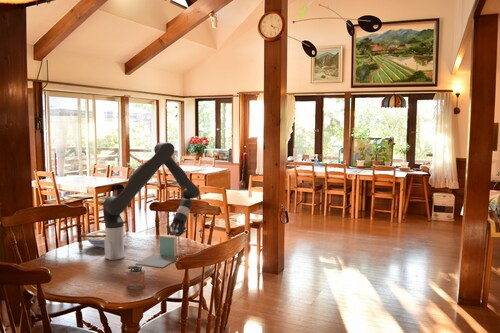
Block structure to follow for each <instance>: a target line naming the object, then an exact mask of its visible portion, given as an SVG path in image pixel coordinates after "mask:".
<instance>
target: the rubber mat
mask: <svg viewBox="0 0 500 333" xmlns="http://www.w3.org/2000/svg"><path fill="white" fill-rule="evenodd" d="M177 258H179V257H177V256H175V257H170V256H163V255H160V254H154V253H153V254H151V255H149V256H147V257H146V258H144V259H142V260H139V261H138V262H136V263H135V265H138V266H142V267H143V266H144V267H153V268H160V269H164V268H166V267H167V266H169V265H170V264H172V263H174V262H176V261H177V260H178V259H177ZM176 259H177V260H176Z"/></svg>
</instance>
